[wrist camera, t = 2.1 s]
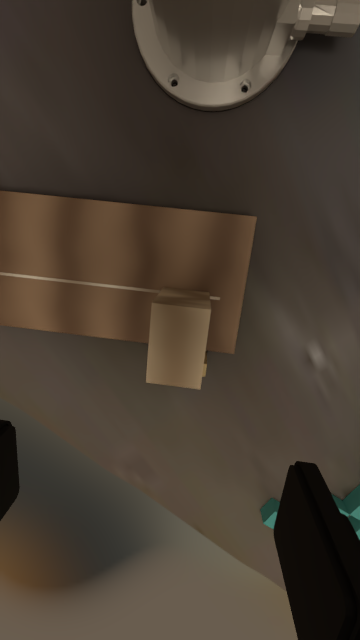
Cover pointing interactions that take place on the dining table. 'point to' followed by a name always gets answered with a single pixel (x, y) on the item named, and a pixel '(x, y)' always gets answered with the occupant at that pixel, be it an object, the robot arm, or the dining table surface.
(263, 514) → the alien figure
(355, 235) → the dining table surface
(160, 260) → the walnut board
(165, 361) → the tan cardboard box
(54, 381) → the dining table surface
